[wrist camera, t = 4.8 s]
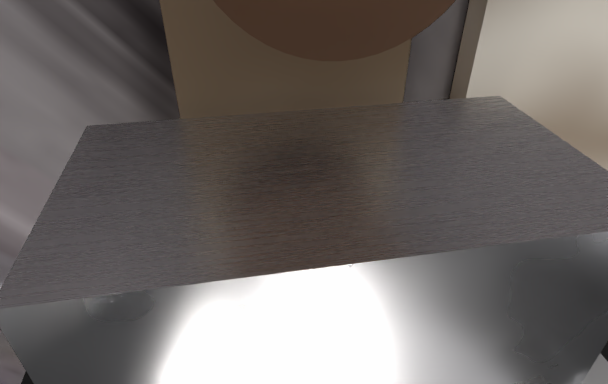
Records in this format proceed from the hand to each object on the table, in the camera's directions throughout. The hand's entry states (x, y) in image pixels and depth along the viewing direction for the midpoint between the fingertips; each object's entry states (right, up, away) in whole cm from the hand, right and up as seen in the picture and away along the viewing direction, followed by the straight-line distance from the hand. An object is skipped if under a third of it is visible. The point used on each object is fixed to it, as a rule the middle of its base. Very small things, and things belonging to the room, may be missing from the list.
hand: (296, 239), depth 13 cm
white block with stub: (0, -1, -1) cm, 2 cm away
